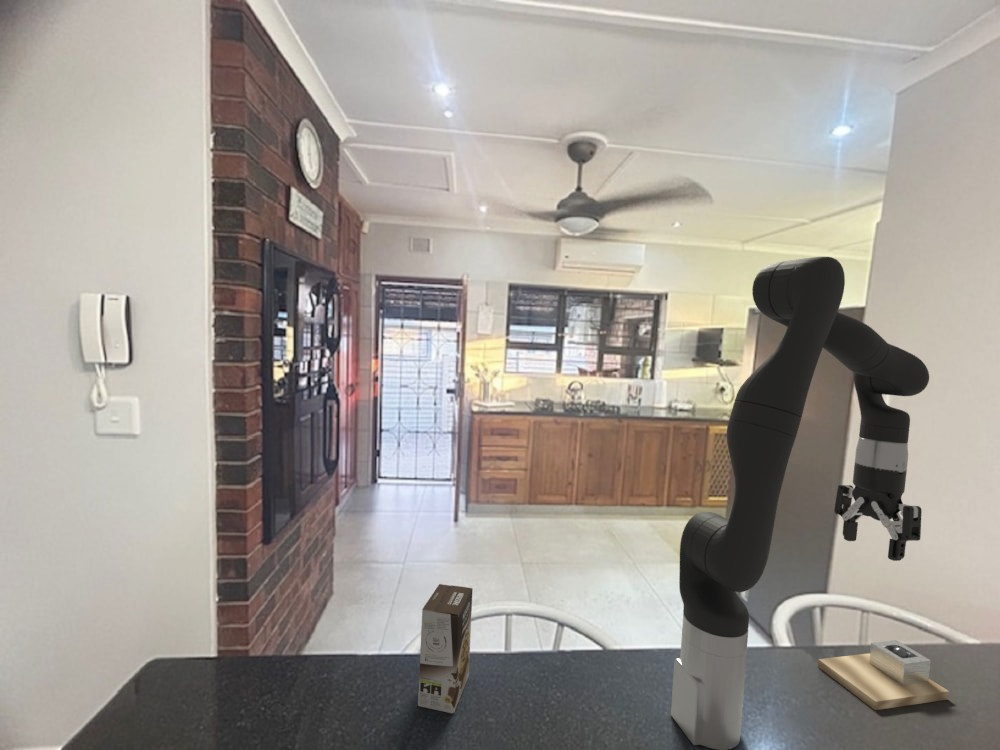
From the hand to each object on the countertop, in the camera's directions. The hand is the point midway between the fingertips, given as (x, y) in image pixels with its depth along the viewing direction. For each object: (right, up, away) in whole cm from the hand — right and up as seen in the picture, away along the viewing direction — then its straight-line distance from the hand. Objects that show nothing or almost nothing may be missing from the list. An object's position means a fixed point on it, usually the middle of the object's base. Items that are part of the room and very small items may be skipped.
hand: (871, 549), depth 87 cm
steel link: (+4, -23, -1) cm, 23 cm away
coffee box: (-79, -21, -9) cm, 82 cm away
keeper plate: (0, -24, -1) cm, 24 cm away
